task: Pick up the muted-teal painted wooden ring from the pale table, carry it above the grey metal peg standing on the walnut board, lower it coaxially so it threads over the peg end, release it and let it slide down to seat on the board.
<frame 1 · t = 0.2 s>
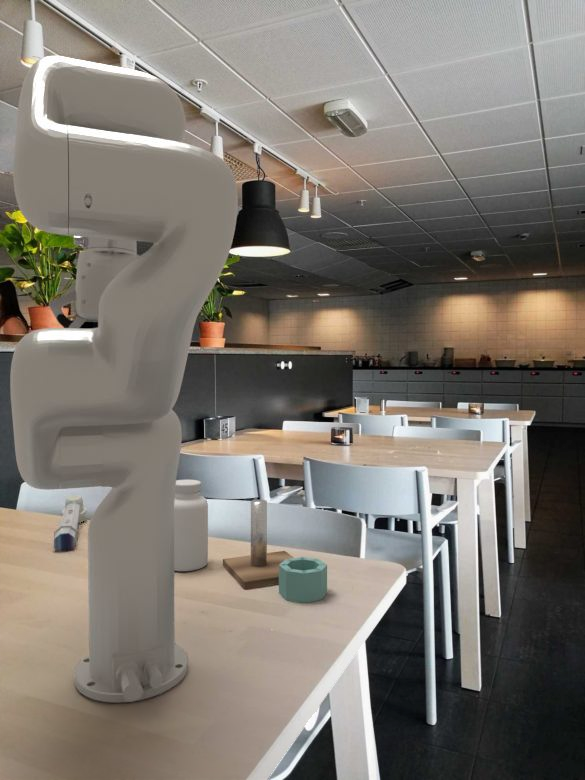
hand: (111, 360, 88), 36 cm above the table, tool pointing down, fingers open, 9 cm apart
pill bottle: (185, 566, 104), on the table
grey metal peg: (258, 570, 101), resting on board
ring: (302, 593, 91), on the table
board: (266, 571, 100), on the table
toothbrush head: (70, 535, 123), on the table
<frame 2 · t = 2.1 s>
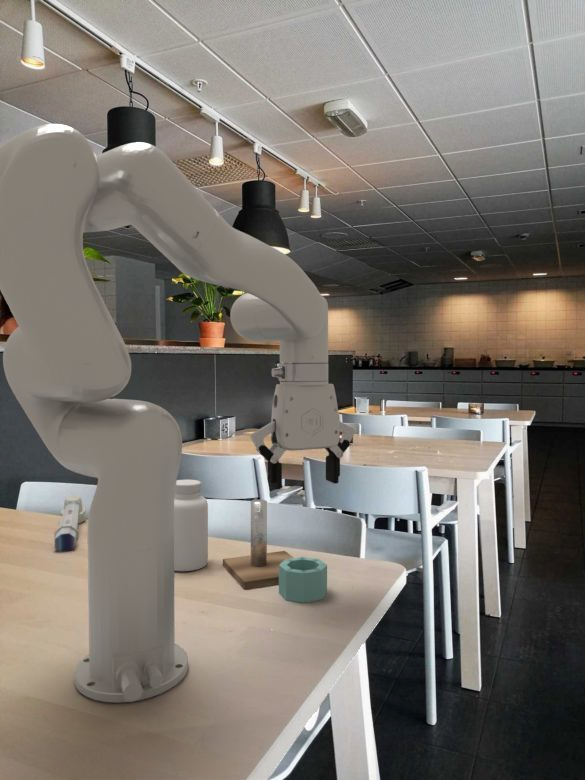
hand: (304, 484, 90), 17 cm above the table, tool pointing down, fingers open, 9 cm apart
nothing on the table moved.
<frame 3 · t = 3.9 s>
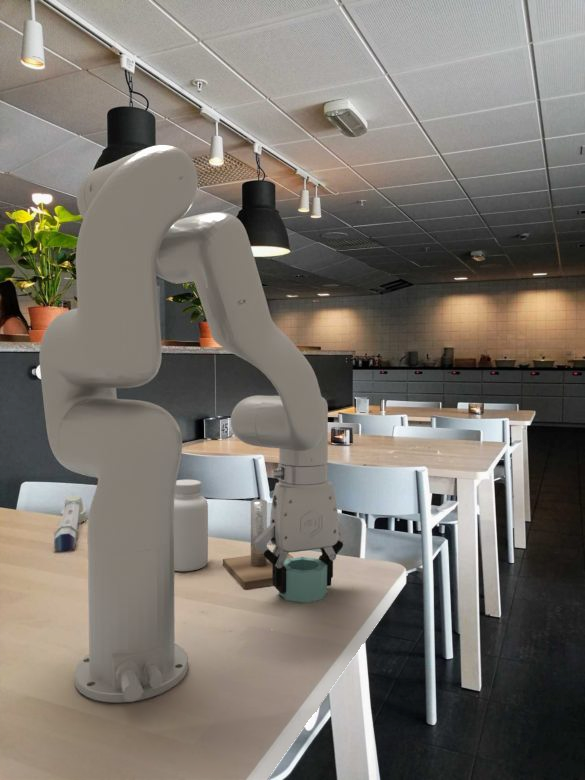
hand: (303, 585, 91), 1 cm above the table, tool pointing down, fingers closed on ring, 7 cm apart
ring: (302, 593, 91), on the table, touching gripper
everything else where it was.
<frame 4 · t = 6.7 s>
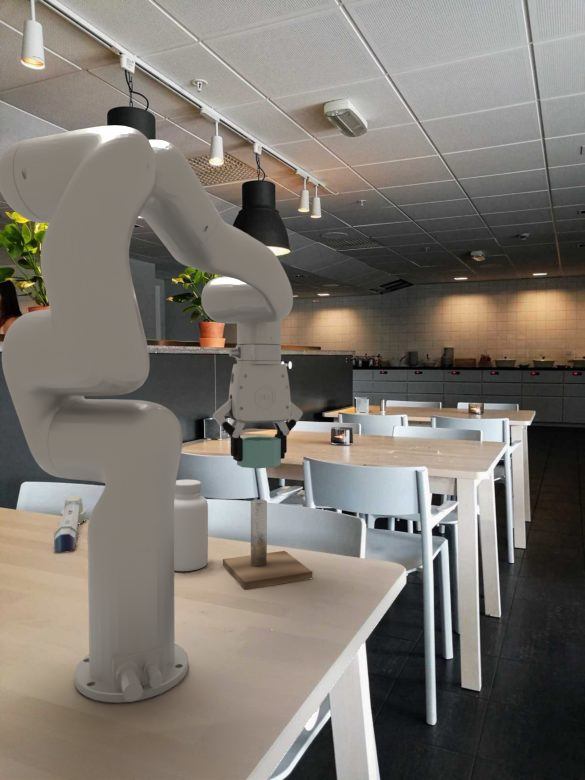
hand: (258, 458, 100), 20 cm above the table, tool pointing down, fingers closed on ring, 7 cm apart
ring: (258, 464, 100), point 19 cm above the table, touching gripper
everything else where it was.
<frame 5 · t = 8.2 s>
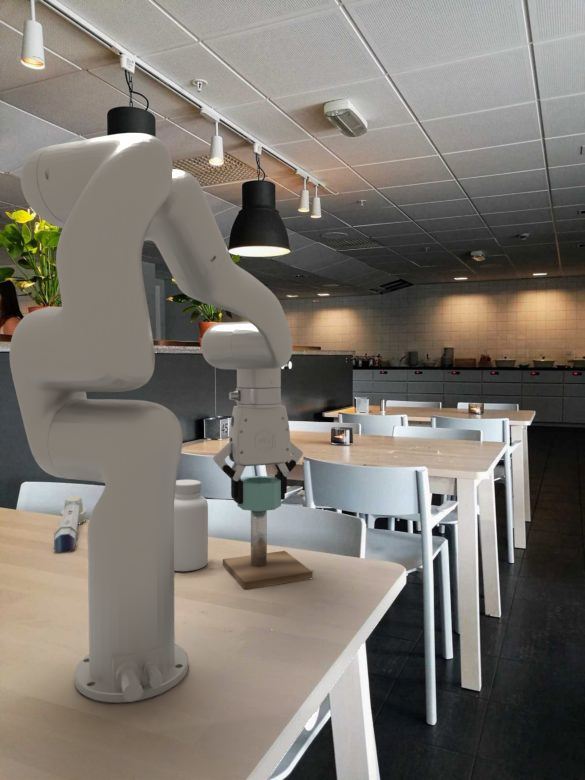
hand: (259, 499, 100), 12 cm above the table, tool pointing down, fingers closed on ring, 7 cm apart
ring: (259, 505, 101), point 11 cm above the table, touching gripper
everything else where it was.
when the fingers open (9 cm above the table, at t = 9.4 s): ring drops 7 cm, resting on board.
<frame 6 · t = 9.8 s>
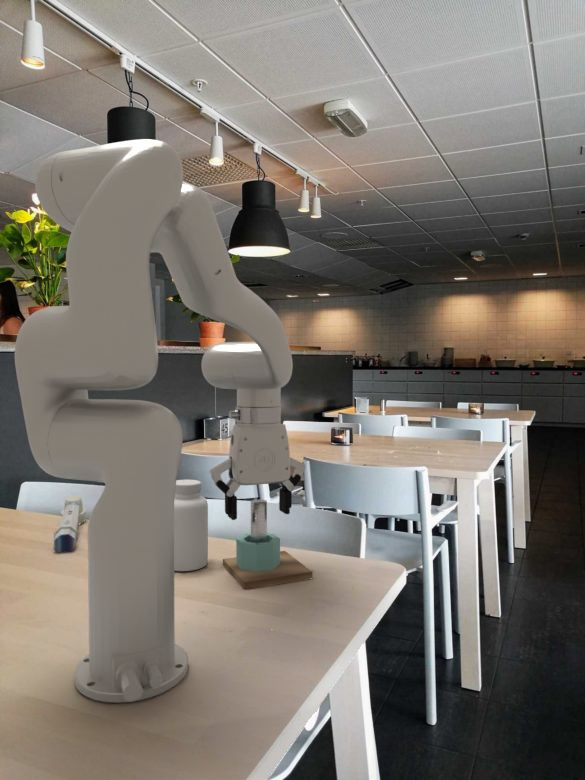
hand: (258, 515, 100), 10 cm above the table, tool pointing down, fingers open, 9 cm apart
ring: (258, 564, 101), point 1 cm above the table, touching board
everything else where it was.
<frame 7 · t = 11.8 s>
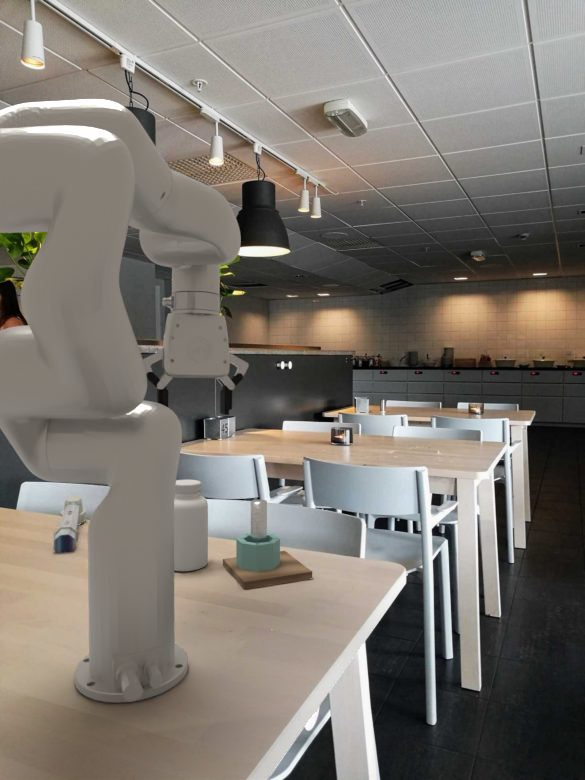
hand: (195, 414, 92), 28 cm above the table, tool pointing down, fingers open, 9 cm apart
nothing on the table moved.
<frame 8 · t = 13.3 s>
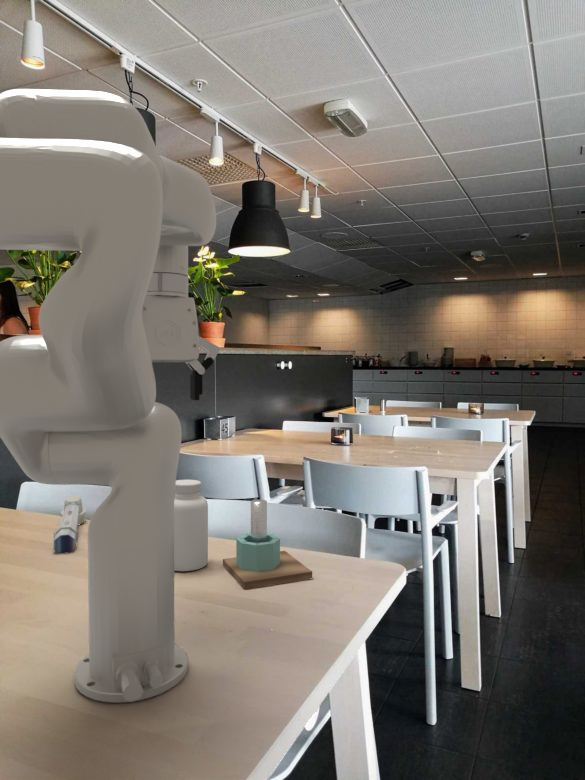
hand: (164, 400, 89), 30 cm above the table, tool pointing down, fingers open, 9 cm apart
at the end: ring 0.1 cm off-centre on the grey metal peg, point 1.2 cm above the grey metal peg's base; ring tilted 0°; the gripper is holding nothing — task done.
